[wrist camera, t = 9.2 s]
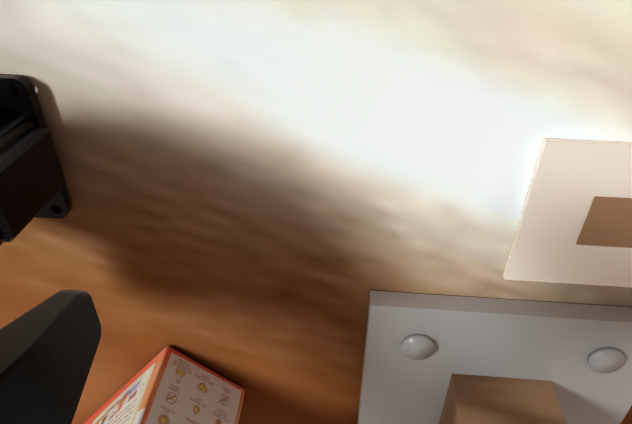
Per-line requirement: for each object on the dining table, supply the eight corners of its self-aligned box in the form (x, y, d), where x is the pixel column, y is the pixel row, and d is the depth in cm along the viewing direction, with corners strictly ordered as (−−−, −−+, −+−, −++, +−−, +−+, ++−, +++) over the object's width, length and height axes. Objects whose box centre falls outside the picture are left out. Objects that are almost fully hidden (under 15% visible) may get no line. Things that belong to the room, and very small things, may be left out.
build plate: (354, 449, 33) (354, 469, 31) (370, 290, 25) (370, 309, 23) (577, 468, 32) (585, 488, 31) (669, 309, 24) (683, 330, 23)
